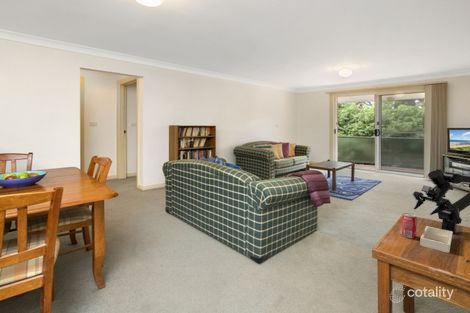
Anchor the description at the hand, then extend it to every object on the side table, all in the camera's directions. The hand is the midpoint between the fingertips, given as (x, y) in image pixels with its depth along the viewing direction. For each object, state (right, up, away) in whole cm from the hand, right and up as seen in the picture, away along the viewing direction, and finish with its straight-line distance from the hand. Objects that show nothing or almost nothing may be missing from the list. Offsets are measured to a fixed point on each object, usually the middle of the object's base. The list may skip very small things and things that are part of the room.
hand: (422, 211), depth 137 cm
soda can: (-8, -13, 0) cm, 16 cm away
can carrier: (+2, -14, -7) cm, 16 cm away
